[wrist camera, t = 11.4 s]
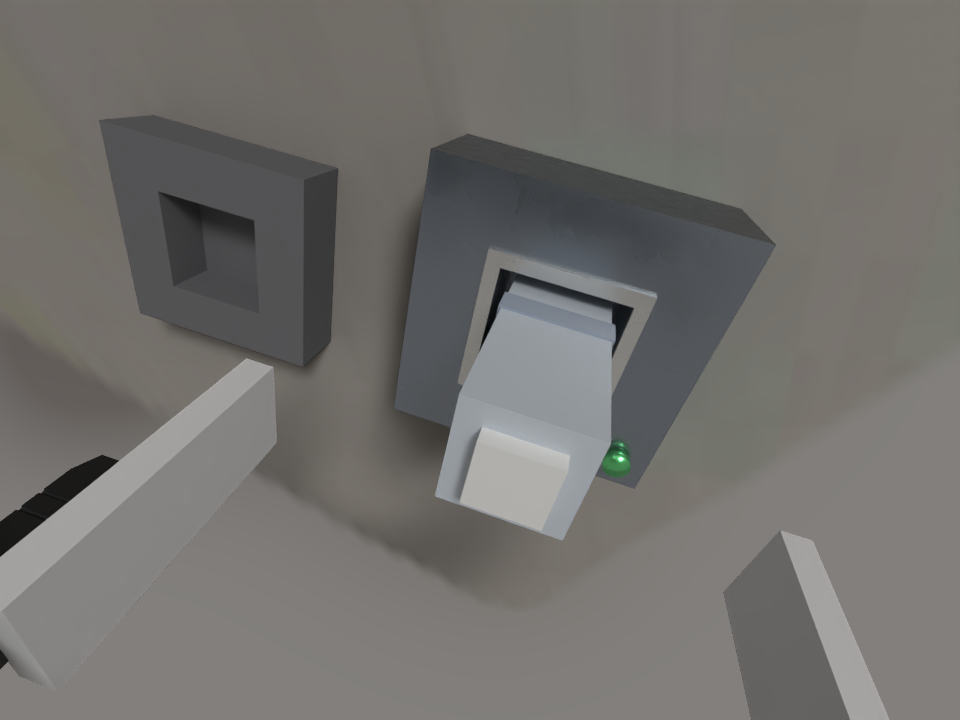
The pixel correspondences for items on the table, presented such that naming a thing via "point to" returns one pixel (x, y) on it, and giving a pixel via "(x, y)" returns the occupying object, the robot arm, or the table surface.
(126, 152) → the holster
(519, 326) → the plug
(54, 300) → the table surface
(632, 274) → the port
